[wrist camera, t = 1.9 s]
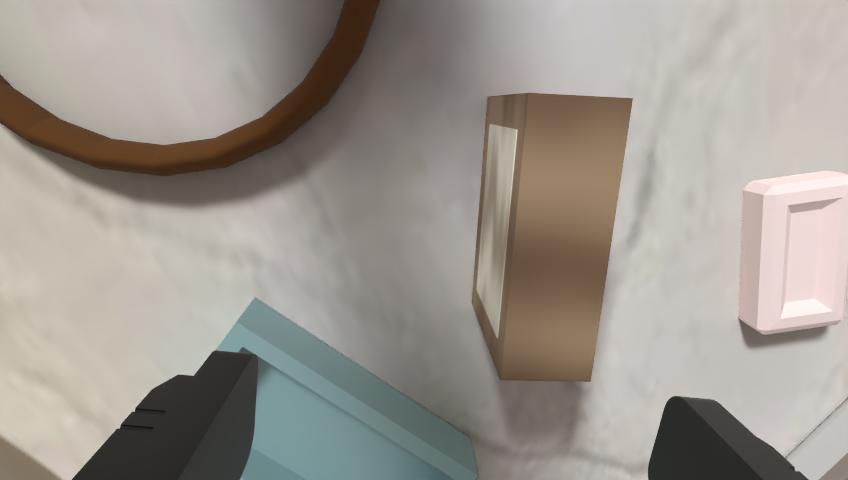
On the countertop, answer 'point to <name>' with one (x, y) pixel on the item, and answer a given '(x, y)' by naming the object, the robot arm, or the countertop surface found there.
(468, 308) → the countertop surface
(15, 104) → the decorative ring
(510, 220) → the picture frame
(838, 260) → the soap bar
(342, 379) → the light blue rectangular tray
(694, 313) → the countertop surface
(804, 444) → the toaster
